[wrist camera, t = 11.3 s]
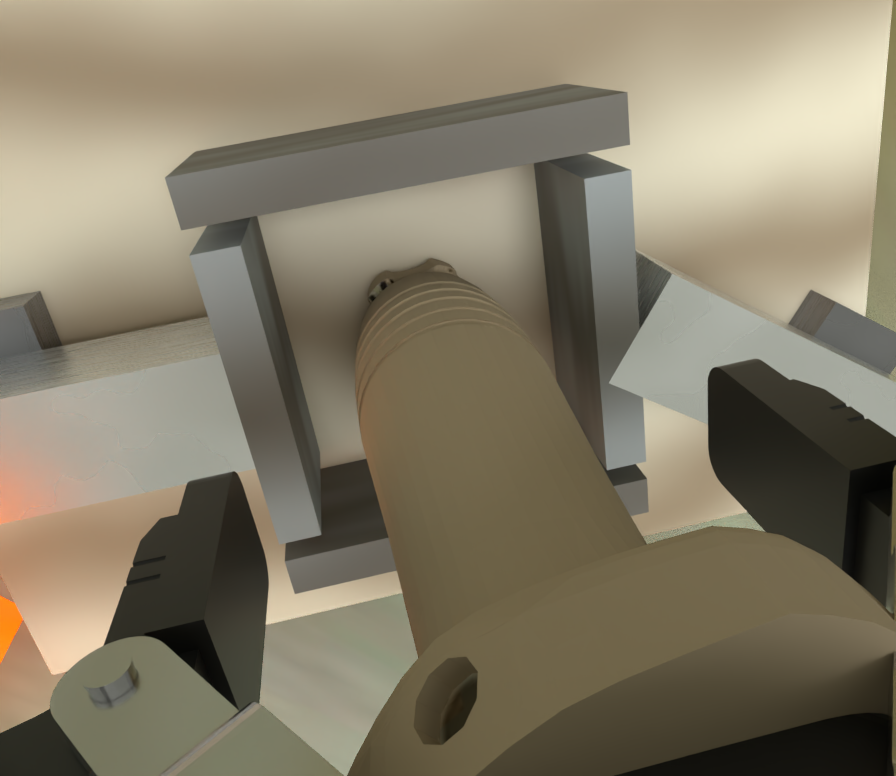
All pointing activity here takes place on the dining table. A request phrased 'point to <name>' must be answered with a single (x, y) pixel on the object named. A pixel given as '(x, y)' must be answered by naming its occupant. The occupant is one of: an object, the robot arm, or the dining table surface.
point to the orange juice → (8, 624)
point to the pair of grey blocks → (219, 426)
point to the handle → (570, 574)
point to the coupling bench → (412, 225)
